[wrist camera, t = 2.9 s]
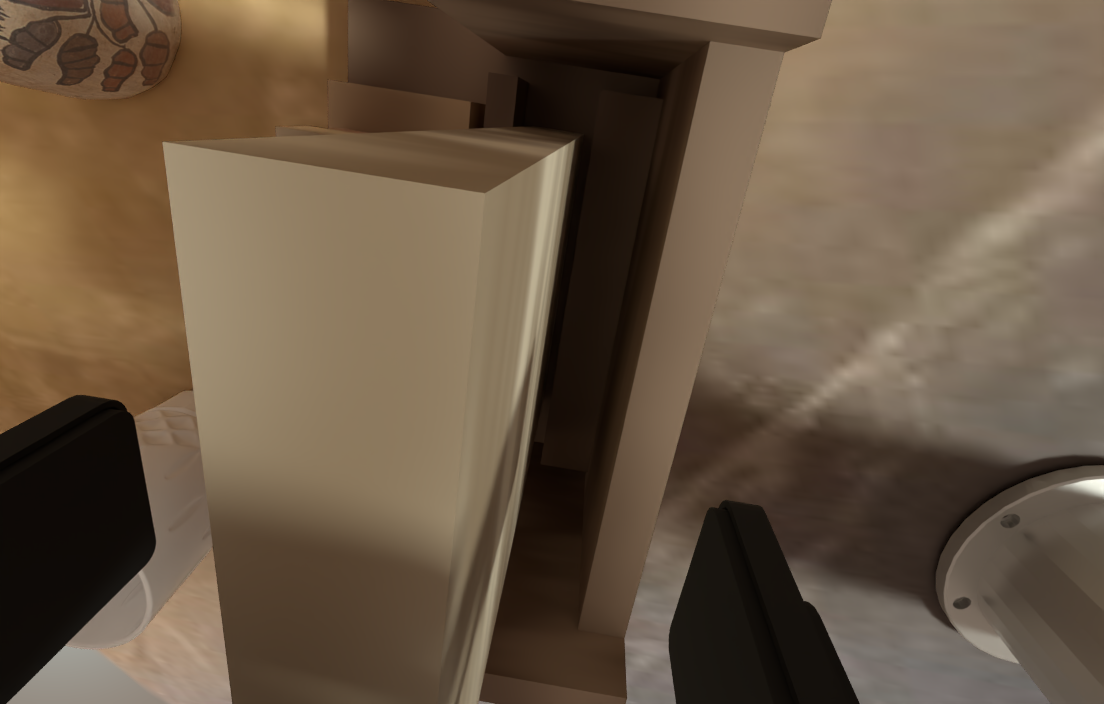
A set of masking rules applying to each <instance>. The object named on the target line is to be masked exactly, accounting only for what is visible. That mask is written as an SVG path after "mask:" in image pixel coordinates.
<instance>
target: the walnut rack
mask: <svg viewBox="0 0 1104 704" xmlns="http://www.w3.org/2000/svg"><path fill="white" fill-rule="evenodd" d="M427 1H429V2H430V3H432V4H433V5H435V6H436V7H437V8H433V7H427V6H420V5H414V4H407V3H400V2H394V1H387V0H348V83H354V84H360V85H367V86H373V87H380V88H386V89H392V90H399V91H405V92H411V93H418V94H424V95H431V96H437V97H443V98H450V99H456V100H462V101H469V102H475V103H481V104H486V107H485V118H484V128H502V127H526V126H536V127H543V128H549V129H556V130H562V131H568V132H575V133H581V134H584V139H583V146H582V152H581V158H580V165H579V171H578V178H577V184H576V191H575V197H574V203H573V210H572V216H571V223H570V229H569V236H568V242H567V248H566V255H565V261H564V268H563V274H562V281H561V287H560V293H559V300H558V306H557V313H556V319H555V326H554V332H553V338H552V345H551V351H550V358H549V364H548V371H547V377H546V383H545V390H544V396H543V402H542V407H541V412H540V416H539V421H538V426H537V430H536V435H535V440H534V444H533V449H532V454H531V458H530V463H529V468H528V472H527V477H526V482H525V486H524V491H523V496H522V500H521V505H520V510H519V514H518V519H517V524H516V528H515V533H514V538H513V542H512V547H511V552H510V556H509V561H508V566H507V570H506V575H505V580H504V584H503V589H502V594H501V598H500V603H499V608H498V612H497V617H496V622H495V626H494V631H493V636H492V640H491V645H490V650H489V654H488V659H487V664H486V668H485V673H484V678H483V683H482V687H481V692H480V697H479V701H484V702H490V703H495V704H625V703H626V700H627V690H626V667H625V643H624V637H625V634H626V630H627V626H628V623H629V619H630V616H631V612H632V608H633V605H634V601H635V597H636V594H637V590H638V586H639V583H640V579H641V575H642V572H643V568H644V564H645V561H646V557H647V553H648V550H649V546H650V542H651V539H652V535H653V531H654V528H655V524H656V520H657V517H658V513H659V509H660V506H661V502H662V499H663V495H664V491H665V488H666V484H667V480H668V477H669V473H670V469H671V466H672V462H673V458H674V455H675V451H676V447H677V444H678V440H679V436H680V433H681V429H682V425H683V422H684V418H685V414H686V411H687V407H688V403H689V400H690V396H691V393H692V389H693V385H694V382H695V378H696V374H697V371H698V367H699V363H700V360H701V356H702V352H703V349H704V345H705V341H706V338H707V334H708V330H709V327H710V323H711V319H712V316H713V312H714V308H715V305H716V301H717V297H718V294H719V290H720V286H721V283H722V279H723V276H724V272H725V268H726V265H727V261H728V257H729V254H730V250H731V246H732V243H733V239H734V235H735V232H736V228H737V224H738V221H739V217H740V213H741V210H742V206H743V202H744V199H745V195H746V191H747V188H748V184H749V180H750V177H751V173H752V169H753V166H754V162H755V159H756V155H757V151H758V148H759V144H760V140H761V137H762V133H763V129H764V126H765V122H766V118H767V115H768V111H769V107H770V104H771V100H772V96H773V93H774V89H775V85H776V82H777V78H778V74H779V71H780V67H781V63H782V60H783V56H784V53H785V52H787V51H790V50H792V49H795V48H797V47H800V46H802V45H805V44H808V43H810V42H813V41H815V40H818V39H820V38H821V36H822V33H823V29H824V26H825V22H826V19H827V16H828V12H829V9H830V5H831V2H832V0H427Z"/></svg>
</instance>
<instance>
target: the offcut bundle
mask: <svg viewBox="0 0 1104 704" xmlns="http://www.w3.org/2000/svg"><path fill="white" fill-rule="evenodd" d="M485 107H486V104H481V103H475V102H469V101H462V100H456V99H450V98H443V97H437V96H431V95H424V94H418V93H411V92H405V91H399V90H392V89H386V88H380V87H373V86H367V85H360V84H354V83H348V82H341V81H335V80H329V79H328V129H326V128H320V127H314V126H275V129H276V137H285V136H309V135H333V134H358V133H382V132H406V131H430V130H454V129H478V128H484V118H485Z"/></svg>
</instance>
